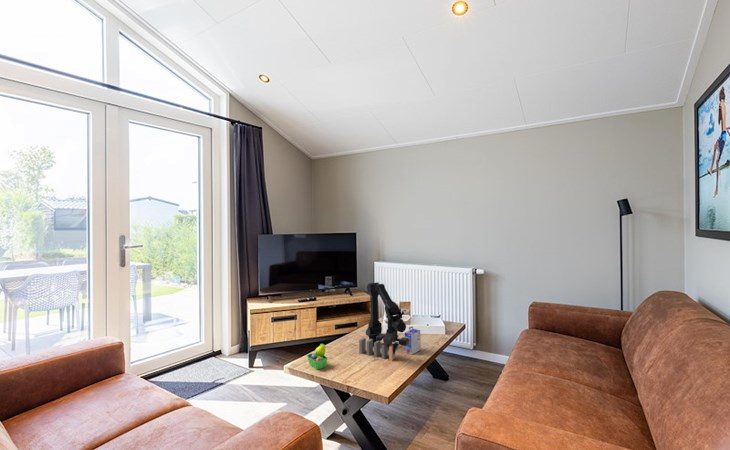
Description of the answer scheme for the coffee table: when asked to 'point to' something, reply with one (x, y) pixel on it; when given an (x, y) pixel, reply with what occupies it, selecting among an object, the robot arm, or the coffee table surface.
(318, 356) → the fruit basket
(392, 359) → the domino
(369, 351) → the domino
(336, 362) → the coffee table surface
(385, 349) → the domino
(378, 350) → the domino
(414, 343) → the ink cartridge box
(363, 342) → the domino
